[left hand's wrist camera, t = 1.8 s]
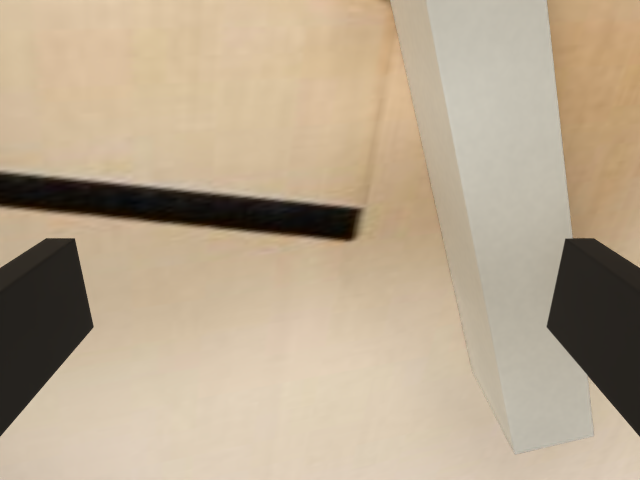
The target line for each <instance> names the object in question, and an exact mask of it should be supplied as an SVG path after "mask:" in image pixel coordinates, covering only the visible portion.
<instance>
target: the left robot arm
mask: <svg viewBox="0 0 640 480" xmlns="http://www.w3.org/2000/svg"><path fill="white" fill-rule="evenodd" d="M92 328H93V322H92V317H91V313H90V308H89V303H88V298H87V294H86V289H85V284H84V280H83V275H82V270H81V266H80V261H79V256H78V251H77V247H76V242H75V238H46V239H45V240H43V241H41V242H40V243H38V244H37V245H35V246H34V247H32V248H31V249H29V250H28V251H26V252H24V253H23V254H21V255H20V256H18V257H17V258H15V259H14V260H12V261H10V262H9V263H7V264H6V265H4V266H3V267H1V268H0V436H1V435H2V434H3V433H4V432H5V430H6V429H7V428H8V427H9V426H10V425H11V423H12V422H13V421H14V420H15V419H16V417H17V416H18V415H19V414H20V413H21V412H22V410H23V409H24V408H25V407H26V406H27V405H28V403H29V402H30V401H31V400H32V399H33V398H34V396H35V395H36V394H37V393H38V392H39V391H40V389H41V388H42V387H43V386H44V385H45V383H46V382H47V381H48V380H49V379H50V378H51V376H52V375H53V374H54V373H55V372H56V371H57V369H58V368H59V367H60V366H61V365H62V364H63V362H64V361H65V360H66V359H67V358H68V357H69V355H70V354H71V353H72V352H73V351H74V349H75V348H76V347H77V346H78V345H79V344H80V342H81V341H82V340H83V339H84V338H85V337H86V335H87V334H88V333H89V332H90V331H91V330H92ZM547 328H548V330H549V331H550V332H551V333H552V334H553V335H554V337H555V338H556V339H557V340H558V341H559V342H560V344H561V345H562V346H563V347H564V348H565V349H566V351H567V352H568V353H569V354H570V355H571V357H572V358H573V359H574V360H575V361H576V362H577V364H578V365H579V366H580V367H581V368H582V369H583V371H584V372H585V373H586V374H587V375H588V376H589V378H590V379H591V380H592V381H593V382H594V383H595V385H596V386H597V387H598V388H599V389H600V391H601V392H602V393H603V394H604V395H605V396H606V398H607V399H608V400H609V401H610V402H611V403H612V405H613V406H614V407H615V408H616V409H617V410H618V412H619V413H620V414H621V415H622V416H623V417H624V419H625V420H626V421H627V422H628V423H629V425H630V426H631V427H632V428H633V429H634V430H635V432H636V433H637V434H638V435H639V436H640V268H639V267H637V266H636V265H634V264H633V263H631V262H630V261H628V260H626V259H625V258H623V257H622V256H620V255H619V254H617V253H616V252H614V251H612V250H611V249H609V248H608V247H606V246H605V245H603V244H602V243H600V242H599V241H597V240H595V239H594V238H565V242H564V247H563V251H562V256H561V261H560V266H559V270H558V275H557V280H556V284H555V289H554V294H553V298H552V303H551V308H550V313H549V317H548V322H547Z"/></svg>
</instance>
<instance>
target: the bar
mask: <svg viewBox="0 0 640 480" xmlns="http://www.w3.org/2000/svg"><path fill="white" fill-rule="evenodd" d="M390 2H391V7H392V11H393V16H394V20H395V25H396V29H397V34H398V38H399V43H400V47H401V52H402V56H403V61H404V65H405V70H406V74H407V79H408V83H409V88H410V93H411V97H412V102H413V106H414V111H415V115H416V120H417V124H418V129H419V133H420V138H421V142H422V147H423V151H424V156H425V160H426V165H427V169H428V174H429V178H430V183H431V187H432V192H433V196H434V201H435V205H436V210H437V214H438V219H439V224H440V228H441V233H442V237H443V242H444V246H445V251H446V255H447V260H448V264H449V269H450V273H451V278H452V282H453V287H454V291H455V296H456V300H457V305H458V309H459V314H460V318H461V323H462V327H463V332H464V336H465V341H466V346H467V350H468V355H469V359H470V364H471V368H472V373H473V374H474V376H475V378H476V380H477V382H478V384H479V386H480V388H481V390H482V392H483V394H484V396H485V398H486V400H487V402H488V404H489V406H490V408H491V410H492V411H493V413H494V415H495V417H496V419H497V421H498V423H499V425H500V427H501V429H502V431H503V433H504V435H505V437H506V439H507V441H508V443H509V445H510V446H511V448H512V450H513V452H514V454H519V453H524V452H528V451H532V450H537V449H541V448H545V447H550V446H554V445H558V444H562V443H567V442H571V441H575V440H580V439H584V438H588V437H592V436H594V430H593V421H592V412H591V402H590V393H589V384H588V375H587V374H586V373H585V372H584V371H583V369H582V368H581V367H580V366H579V365H578V364H577V362H576V361H575V360H574V359H573V358H572V357H571V355H570V354H569V353H568V352H567V351H566V349H565V348H564V347H563V346H562V345H561V344H560V342H559V341H558V340H557V339H556V338H555V337H554V335H553V334H552V333H551V332H550V331H549V330H548V328H547V322H548V317H549V313H550V308H551V303H552V298H553V294H554V289H555V284H556V280H557V275H558V270H559V266H560V261H561V256H562V251H563V247H564V242H565V238H573V237H572V228H571V218H570V209H569V200H568V191H567V182H566V172H565V163H564V154H563V145H562V135H561V126H560V117H559V108H558V99H557V89H556V80H555V71H554V62H553V53H552V43H551V34H550V25H549V16H548V7H547V0H390Z"/></svg>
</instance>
